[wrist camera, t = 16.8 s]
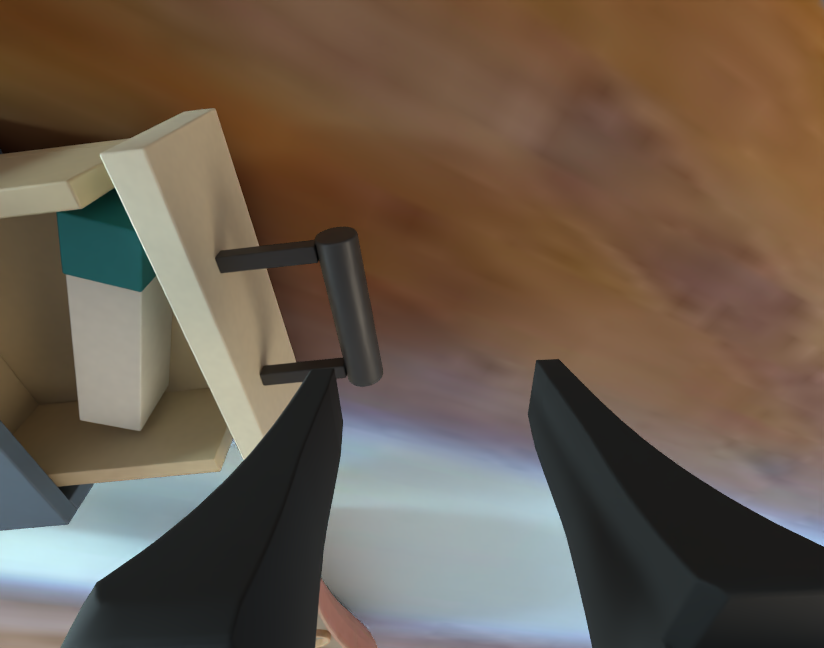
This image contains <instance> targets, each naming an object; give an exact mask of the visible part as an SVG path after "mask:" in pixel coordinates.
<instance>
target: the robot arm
mask: <svg viewBox="0 0 824 648" xmlns="http://www.w3.org/2000/svg"><path fill="white" fill-rule="evenodd" d="M528 417H529V422H530V427H531V432H532V436H533V440H534V445H535V449H536V452H537V454H538V457H539V460H540V463H541V466H542V469H543V472H544V474H545V477H546V480H547V483H548V485H549V488H550V491H551V494H552V496H553V499H554V502H555V505H556V508H557V510H558V513H559V516H560V519H561V521H562V525H563V528H564V531H565V534H566V537H567V541H568V545H569V549H570V553H571V557H572V561H573V565H574V569H575V573H576V577H577V581H578V585H579V589H580V594H581V598H582V602H583V607H584V611H585V615H586V620H587V625H588V629H589V634H590V639H591V643H592V648H824V547H823V546H821V545H819V544H817V543H815V542H813V541H811V540H809V539H807V538H805V537H803V536H801V535H798V534H796V533H794V532H792V531H790V530H788V529H786V528H784V527H782V526H780V525H778V524H776V523H774V522H772V521H770V520H768V519H767V518H765V517H763V516H761V515H759V514H757V513H756V512H754V511H752V510H750V509H748V508H747V507H745V506H743V505H741V504H739V503H738V502H736V501H734V500H732V499H731V498H729V497H727V496H726V495H724V494H722V493H721V492H719V491H717V490H716V489H714V488H713V487H711V486H709V485H708V484H706V483H705V482H703V481H702V480H700V479H698V478H697V477H695V476H694V475H692V474H691V473H689V472H688V471H686V470H685V469H683V468H682V467H680V466H679V465H677V464H676V463H675V462H673V461H672V460H671V459H669V458H668V457H667V456H665V455H664V454H662V453H661V452H660V451H658V450H657V449H656V448H654V447H653V446H652V445H650V444H649V443H648V442H647V441H645V440H644V439H643V438H642V437H640V436H639V435H638V434H637V433H636V432H634V431H633V430H632V429H631V428H630V427H628V426H627V425H626V424H625V423H624V422H623V421H621V420H620V419H619V418H618V417H617V416H616V415H615V414H614V413H613V412H612V411H611V410H609V409H608V408H607V407H606V406H605V405H604V404H603V403H602V402H601V401H600V400H599V399H598V398H597V397H596V396H595V395H594V394H593V393H592V392H591V391H590V390H589V389H588V388H587V387H586V386H585V385H584V384H583V383H582V382H581V381H580V380H579V379H578V378H577V377H576V376H575V375H574V374H573V373H572V372H571V371H570V370H569V369H568V368H567V367H566V366H565V365H564V364H563V363H562V362H561V361H560V360H559V359H553V360H536V365H535V372H534V378H533V385H532V391H531V398H530V404H529V411H528ZM342 429H343V419H342V413H341V406H340V400H339V394H338V388H337V381H336V375H335V369H334V368H327V369H312V370H311V371H310V372H309V373H308V374H307V376H306V377H305V379H304V381H303V382H302V384H301V385H300V387H299V389H298V390H297V392H296V393H295V395H294V396H293V398H292V399H291V401H290V402H289V404H288V405H287V406H286V408H285V409H284V411H283V412H282V413H281V415H280V416H279V418H278V419H277V420H276V422H275V423H274V424H273V426H272V427H271V428H270V430H269V431H268V432H267V433H266V435H265V436H264V437H263V438H262V440H261V441H260V442H259V443H258V444H257V446H256V447H255V448H254V449H253V451H252V452H251V453H250V454H249V455H248V456H247V457H246V459H245V460H244V461H243V462H242V463H241V464H240V465H239V466H238V467H237V469H236V470H235V471H234V472H233V473H232V474H231V475H230V476H229V477H228V478H227V479H226V480H225V481H224V482H223V483H222V484H221V485H220V486H219V487H218V488H217V489H216V490H215V491H214V492H213V493H211V494H210V495H209V496H208V497H207V498H206V499H205V500H204V501H203V502H202V503H201V504H200V505H199V506H198V507H196V508H195V509H194V510H193V511H192V512H191V513H190V514H188V515H187V516H186V517H185V518H184V519H182V520H181V521H180V522H179V523H177V524H176V525H175V526H174V527H173V528H171V529H170V530H169V531H168V532H166V533H165V534H164V535H163V536H162V537H160V538H159V539H158V540H156V541H155V542H154V543H152V544H151V545H150V546H148V547H147V548H146V549H144V550H143V551H142V552H140V553H139V554H137V555H136V556H135V557H133V558H132V559H130V560H129V561H127V562H126V563H125V564H123V565H122V566H120V567H119V568H117V569H116V570H115V571H113V572H112V573H110V574H109V575H107V576H106V577H104V578H103V579H101V580H100V581H98V582H97V583H96V585H95V586H94V588H93V590H92V591H91V593H90V594H89V596H88V598H87V599H86V601H85V602H84V604H83V606H82V607H81V609H80V611H79V613H78V615H77V617H76V619H75V621H74V623H73V624H72V626H71V628H70V630H69V632H68V634H67V636H66V638H65V640H64V642H63V644H62V646H61V648H315V645H316V630H317V618H318V606H319V593H320V582H321V571H322V561H323V550H324V543H325V536H326V530H327V525H328V520H329V515H330V509H331V504H332V499H333V494H334V489H335V483H336V478H337V473H338V467H339V462H340V456H341V444H342Z"/></svg>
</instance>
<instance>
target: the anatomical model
mask: <svg viewBox="0 0 824 648" xmlns="http://www.w3.org/2000/svg"><path fill="white" fill-rule="evenodd" d="M315 648H377V645H376V643H375V640H374V639H373V637H372V635H371V633H370V632H369V631H368V629H367V628H366V627H365V626H364V625H363V624H362V623H361V622H360V621H359V620H358V619H357V618H355V617H354V616H353V615H352V614H351V613H350V612H349V611H348V610H347V609H346V608H345V607H344V606H343V605H341V604H340V603H339V602H338V600H337V599H336V598H335V597H334V596H333V595H332V593H331V592H330V591H329V589H328V588H327V586H326V585H325V583H324V582H323V580H322V579H321V582H320V593H319V606H318V618H317V630H316V645H315Z"/></svg>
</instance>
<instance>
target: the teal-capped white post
mask: <svg viewBox="0 0 824 648" xmlns="http://www.w3.org/2000/svg"><path fill="white" fill-rule="evenodd" d="M56 215H57V225H58V235H59V245H60V255H61V265H62V272H63V273H64V274H66V283H67V293H68V303H69V314H70V324H71V335H72V345H73V355H74V366H75V376H76V386H77V397H78V407H79V418H80V420H82V421H87V422H93V423H98V424H104V425H109V426H114V427H120V428H125V429H131V430H136V431H141V430H142V428H143V426H144V425H145V423H146V421H147V420H148V418H149V416H150V415H151V413H152V411H153V410H154V408H155V407H156V405H157V403H158V402H159V400H160V398H161V397H162V395H163V393H164V392H165V390H166V388H167V387H168V385H169V369H170V348H171V328H172V307H171V305H170V303H169V301H168V299H167V297H166V295H165V293H164V290H163V288H162V286H161V284H160V282H159V280H158V278H157V276H156V274H155V271H154V269H153V267H152V265H151V263H150V261H149V259H148V257H147V255H146V252H145V250H144V248H143V246H142V244H141V242H140V240H139V238H138V235H137V233H136V231H135V229H134V227H133V225H132V223H131V221H130V219H129V216H128V214H127V212H126V210H125V208H124V206H123V204H122V202H121V200H120V197H119V195H118V193H117V191H116V189H115V188H113V189H112V190H110V191H109V192H107V193H106V194H104V195H103V196H101V197H99V198H98V199H96V200H95V201H93V202H92V203H90V204H89V205H87V206H85V207H84V208H82V209H77V210H69V211H60V212H56Z"/></svg>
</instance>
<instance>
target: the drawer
mask: <svg viewBox="0 0 824 648" xmlns="http://www.w3.org/2000/svg"><path fill="white" fill-rule="evenodd" d="M113 188H115V189H116V191H117V193H118V195H119V197H120V200H121V202H122V204H123V206H124V208H125V210H126V212H127V214H128V216H129V219H130V221H131V223H132V225H133V227H134V229H135V231H136V233H137V235H138V238H139V240H140V242H141V244H142V246H143V248H144V250H145V252H146V255H147V257H148V259H149V261H150V263H151V265H152V267H153V269H154V271H155V274H156V276H157V278H158V280H159V282H160V284H161V286H162V288H163V290H164V293H165V295H166V297H167V299H168V301H169V303H170V305H171V307H172V328H171V348H170V369H169V385H168V387H167V388H166V390H165V392H164V393H163V395H162V397H161V398H160V400H159V402H158V403H157V405H156V407H155V408H154V410H153V411H152V413H151V415H150V416H149V418H148V420H147V421H146V423H145V425H144V426H143V428H142V430H141V431H136V430H131V429H125V428H120V427H114V426H109V425H104V424H98V423H93V422H87V421H82V420H80V418H79V407H78V397H77V386H76V376H75V366H74V355H73V345H72V335H71V324H70V314H69V303H68V293H67V283H66V274H64V273H63V272H62V265H61V255H60V245H59V235H58V225H57V215H56V212H60V211H69V210H77V209H82V208H84V207H85V206H87V205H89V204H90V203H92V202H93V201H95V200H96V199H98V198H99V197H101V196H103V195H104V194H106V193H107V192H109V191H110V190H112V189H113ZM318 261H320V265H321V269H322V273H323V277H324V282H325V286H326V290H327V294H328V298H329V302H330V306H331V310H332V314H333V318H334V322H335V327H336V331H337V335H338V339H339V343H340V347H341V351H342V355H343V358H334V359H324V360H314V361H304V362H296V360H295V357H294V353H293V350H292V347H291V344H290V341H289V338H288V335H287V331H286V328H285V325H284V322H283V319H282V316H281V313H280V310H279V306H278V303H277V300H276V297H275V294H274V291H273V288H272V284H271V281H270V278H269V275H268V272H267V269H266V268H275V267H284V266H293V265H302V264H311V263H318ZM327 368H334V369H335V375H336V379H337V378H345V377H346V376H348V379H349V381H350V382H351V383H352V384H353V385H356V386H360V387H364V386H370V385H372V384H375V383H376V382H378V381H379V380H380V379H381V377H382V375H383V368H382V362H381V357H380V352H379V346H378V341H377V336H376V330H375V325H374V320H373V314H372V309H371V303H370V298H369V293H368V287H367V282H366V277H365V271H364V266H363V261H362V255H361V250H360V245H359V239H358V234H357V231H356V230H355V229H353V228H350V227H335V228H330V229H327V230H324V231H322V232H320V233H319V234H317V235H316V237H315V240H310V241H301V242H292V243H283V244H274V245H265V246H259V244H258V241H257V237H256V234H255V231H254V228H253V225H252V222H251V219H250V216H249V212H248V209H247V206H246V203H245V200H244V197H243V194H242V190H241V187H240V184H239V181H238V178H237V175H236V172H235V168H234V165H233V162H232V159H231V156H230V153H229V150H228V147H227V143H226V140H225V137H224V134H223V131H222V128H221V125H220V121H219V118H218V115H217V112H216V109H215V108H210V109H202V110H194V111H186V112H182V113H180V114H178V115H176V116H174V117H172V118H170V119H168V120H166V121H164V122H162V123H160V124H158V125H156V126H154V127H152V128H150V129H148V130H146V131H144V132H142V133H140V134H138V135H136V136H134V137H132V138H129V139H120V140H112V141H104V142H96V143H88V144H80V145H72V146H63V147H55V148H47V149H39V150H31V151H23V152H15V153H7V154H0V420H1V422H2V423H3V424H4V425H5V426H6V427H7V429H8V430H9V431H10V432H11V433H12V434H13V436H14V437H15V438H16V439H17V440H18V441H19V443H20V444H21V445H22V446H23V447H24V448H25V450H26V451H27V452H28V453H29V454H30V455H31V457H32V458H33V459H34V460H35V461H36V462H37V464H38V465H39V466H40V467H41V468H42V469H43V471H44V472H45V473H46V474H47V475H48V476H49V478H50V479H51V480H52V481H53V482H54V483H55V485H56V486H57V487H59V486H69V485H80V484H91V483H101V482H112V481H123V480H133V479H144V478H155V477H166V476H176V475H187V474H198V473H208V472H219V471H221V469H222V466H223V463H224V461H225V458H226V455H227V453H228V450H229V448H230V445H231V442H232V440H233V439H234V441H235V443H236V445H237V447H238V449H239V451H240V453H241V455H242V458H243V460H245V459H246V457H247V456H248V455H249V454H250V453H251V452H252V451H253V449H254V448H255V447H256V446H257V444H258V443H259V442H260V441H261V440H262V438H263V437H264V436H265V435H266V433H267V432H268V431H269V430H270V428H271V427H272V426H273V424H274V423H275V422H276V420H277V419H278V418H279V416H280V415H281V413H282V412H283V411H284V409H285V408H286V406H287V405H288V404H289V402H290V401H291V399H292V398H293V396H294V395H295V393H296V392H297V390H298V389H299V387H300V385H301V384H302V382H303V381H304V379H305V377H306V376H307V374H308V373H309V372H310V371H311V370H312V369H327Z"/></svg>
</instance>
